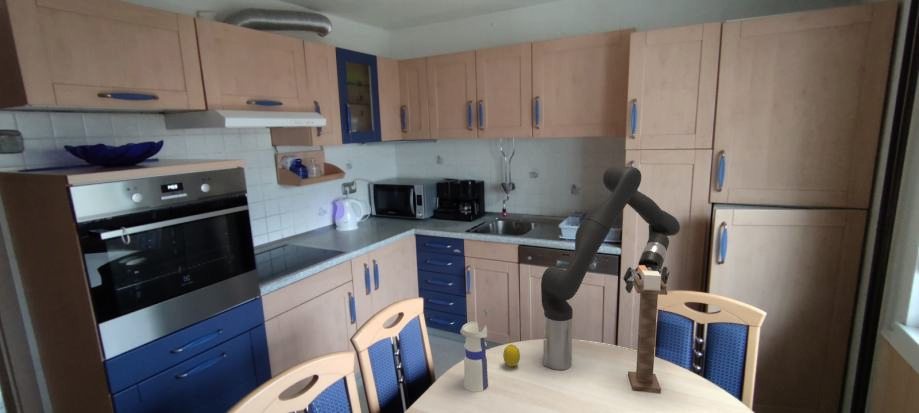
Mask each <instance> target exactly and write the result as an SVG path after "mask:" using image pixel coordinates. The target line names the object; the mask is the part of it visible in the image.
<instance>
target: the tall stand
mask: <svg viewBox="0 0 919 413" xmlns="http://www.w3.org/2000/svg"><path fill="white" fill-rule="evenodd" d="M632 281H633V288H634V289H635V292H636V294H639V311H638V313H639V314H638V330H637V332H638V333H637V346H636V347H637V351H636V366H635V367H636V370H635V371H633V370H632V371H631V370H630V371H628V372H627V378H628V380H629V381H628V382H629V384H630V387H631V390H632V391H634V392H636V391H637V392H644V393H646V392H647V393H654V394H661V393H662V387H661V385H660V381H659V380H658V377H657V375H656V373H654V364H655V349H656V348H655V347H656V330H657V313H658V300H659V299H658V297H659V295H660V296H661V295H665V296H667V295H668V290H667V289H668V288H667V284H664V282H663V281H662V279H661V286H660V291H659V290H644V289H643V287H642V284H641V281H640V280H639V277H638V275H637V276H634V279H633V280H632Z"/></svg>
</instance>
